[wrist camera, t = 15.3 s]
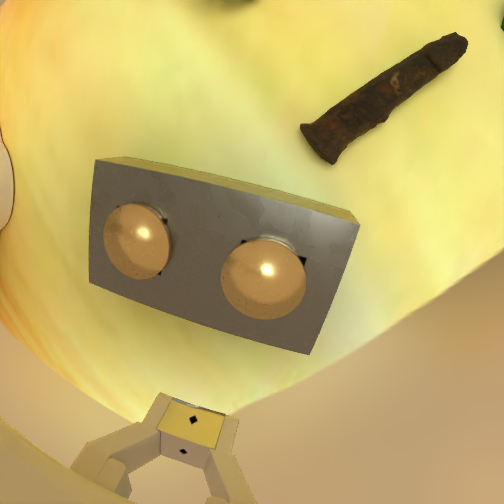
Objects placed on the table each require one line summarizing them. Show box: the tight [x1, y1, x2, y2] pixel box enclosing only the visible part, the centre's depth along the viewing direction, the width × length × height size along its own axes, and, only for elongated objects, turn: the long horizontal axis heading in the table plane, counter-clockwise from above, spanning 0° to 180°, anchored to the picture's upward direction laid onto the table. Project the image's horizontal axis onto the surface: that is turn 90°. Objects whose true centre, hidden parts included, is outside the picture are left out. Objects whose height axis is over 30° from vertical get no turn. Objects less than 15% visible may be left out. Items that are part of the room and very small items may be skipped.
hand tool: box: [300, 32, 468, 165], centre depth 19 cm, size 19×4×5 cm, turn 128°
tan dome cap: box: [221, 238, 306, 320], centre depth 24 cm, size 6×6×5 cm
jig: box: [89, 157, 360, 355], centre depth 25 cm, size 22×12×6 cm, turn 76°
